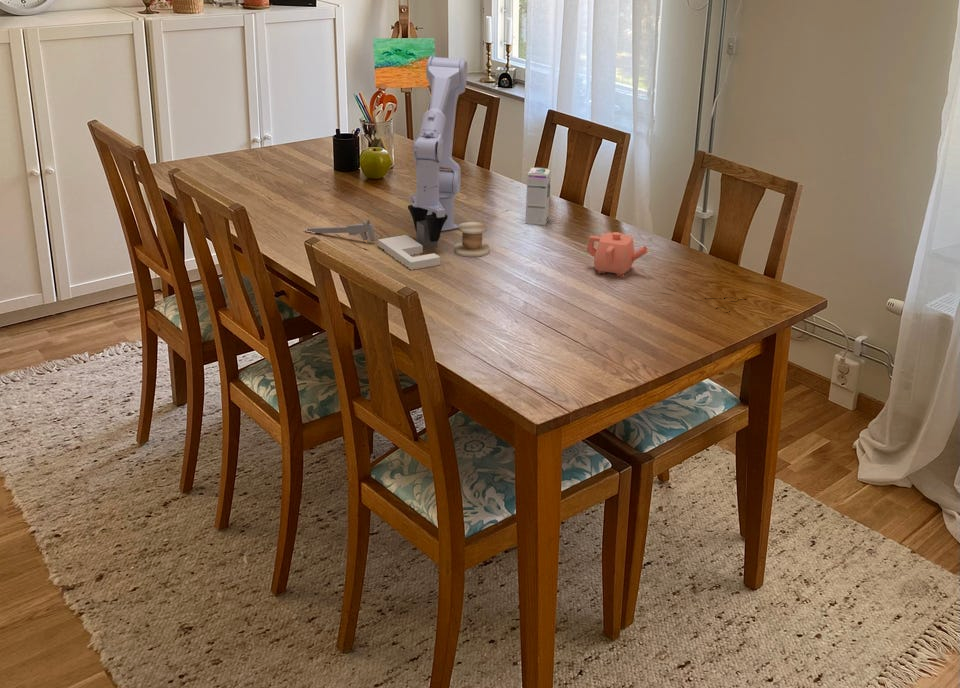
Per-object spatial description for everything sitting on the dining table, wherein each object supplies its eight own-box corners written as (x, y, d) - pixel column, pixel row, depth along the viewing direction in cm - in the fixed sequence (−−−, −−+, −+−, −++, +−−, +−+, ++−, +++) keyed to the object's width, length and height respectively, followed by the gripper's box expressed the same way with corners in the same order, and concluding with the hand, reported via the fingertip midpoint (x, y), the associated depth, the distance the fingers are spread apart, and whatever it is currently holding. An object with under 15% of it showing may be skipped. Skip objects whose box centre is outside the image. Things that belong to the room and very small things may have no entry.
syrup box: (545, 225, 275) (549, 174, 269) (524, 223, 276) (527, 172, 270) (548, 219, 280) (552, 168, 274) (527, 217, 281) (530, 166, 275)
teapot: (647, 276, 243) (651, 238, 239) (603, 281, 239) (607, 243, 235) (623, 260, 253) (627, 223, 249) (581, 264, 249) (584, 227, 245)
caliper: (374, 243, 259) (374, 220, 256) (372, 245, 258) (372, 221, 255) (305, 232, 265) (304, 209, 262) (303, 233, 264) (302, 210, 262)
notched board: (378, 246, 256) (378, 239, 255) (406, 242, 260) (406, 234, 259) (411, 270, 242) (411, 262, 241) (440, 264, 246) (440, 257, 245)
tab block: (416, 243, 259) (416, 221, 256) (430, 241, 261) (430, 219, 258) (424, 248, 256) (424, 226, 253) (437, 246, 258) (438, 223, 255)
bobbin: (447, 248, 257) (448, 223, 254) (477, 242, 261) (478, 218, 258) (465, 259, 250) (466, 234, 247) (496, 253, 254) (497, 229, 251)
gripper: (400, 179, 255) (400, 230, 261) (427, 194, 244) (426, 247, 250) (424, 176, 259) (424, 226, 264) (452, 191, 247) (451, 243, 253)
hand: (427, 236), depth 257 cm, fingers open, 7 cm apart
